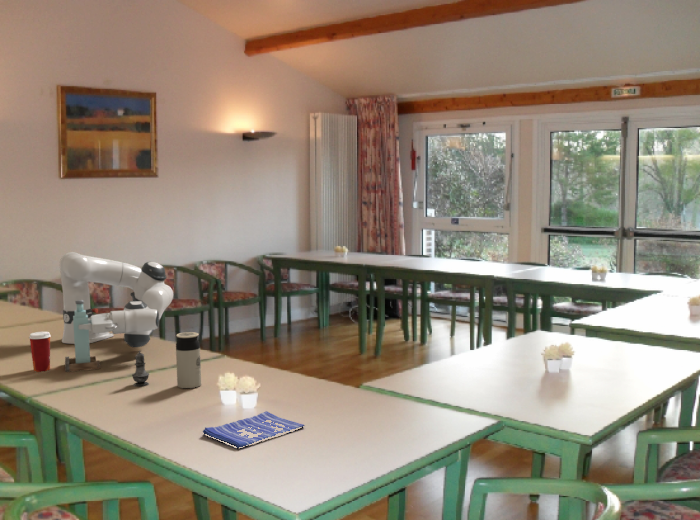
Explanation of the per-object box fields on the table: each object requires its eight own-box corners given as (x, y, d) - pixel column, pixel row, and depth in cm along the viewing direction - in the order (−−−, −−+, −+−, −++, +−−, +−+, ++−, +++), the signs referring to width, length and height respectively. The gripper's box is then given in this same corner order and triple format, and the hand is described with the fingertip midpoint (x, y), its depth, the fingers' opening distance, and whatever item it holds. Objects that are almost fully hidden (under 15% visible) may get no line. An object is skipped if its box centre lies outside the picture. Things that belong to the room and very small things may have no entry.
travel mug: (172, 387, 255) (170, 335, 253) (186, 381, 262) (184, 331, 260) (192, 390, 252) (190, 337, 250) (205, 383, 259) (203, 332, 257)
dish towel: (200, 437, 207) (199, 427, 207) (266, 417, 224) (266, 407, 223) (238, 452, 195) (237, 442, 195) (305, 430, 212) (305, 420, 211)
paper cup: (57, 368, 283) (55, 332, 281) (41, 373, 276) (39, 336, 274) (42, 366, 286) (40, 330, 285) (25, 371, 279) (23, 334, 278)
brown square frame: (99, 361, 294) (99, 353, 293) (100, 368, 282) (100, 360, 282) (65, 364, 289) (65, 356, 289) (65, 372, 278) (65, 364, 277)
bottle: (90, 360, 289) (86, 299, 286) (90, 363, 284) (87, 301, 281) (75, 362, 287) (72, 300, 284) (75, 365, 282) (72, 302, 279)
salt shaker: (134, 387, 255) (132, 353, 254) (130, 383, 261) (129, 349, 259) (151, 385, 258) (150, 351, 257) (147, 381, 263) (146, 347, 262)
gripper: (118, 335, 279) (79, 338, 274) (115, 325, 298) (78, 328, 293) (117, 318, 278) (78, 321, 273) (114, 310, 297) (77, 312, 293)
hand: (78, 325), depth 283 cm, fingers closed on bottle, 5 cm apart
